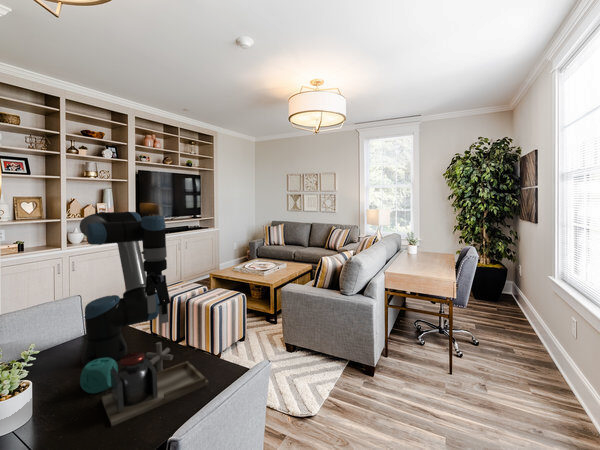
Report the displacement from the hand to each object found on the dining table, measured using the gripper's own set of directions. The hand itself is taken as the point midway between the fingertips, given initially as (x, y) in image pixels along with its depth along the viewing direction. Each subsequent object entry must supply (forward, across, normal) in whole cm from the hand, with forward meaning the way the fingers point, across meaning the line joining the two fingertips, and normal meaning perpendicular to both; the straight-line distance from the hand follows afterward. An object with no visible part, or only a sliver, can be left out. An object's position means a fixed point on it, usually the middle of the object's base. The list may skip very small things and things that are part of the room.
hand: (157, 317), depth 109 cm
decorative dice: (+20, -3, -18) cm, 27 cm away
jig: (+20, +13, -5) cm, 24 cm away
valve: (+20, +13, -12) cm, 26 cm away
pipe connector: (+20, 0, 0) cm, 20 cm away
